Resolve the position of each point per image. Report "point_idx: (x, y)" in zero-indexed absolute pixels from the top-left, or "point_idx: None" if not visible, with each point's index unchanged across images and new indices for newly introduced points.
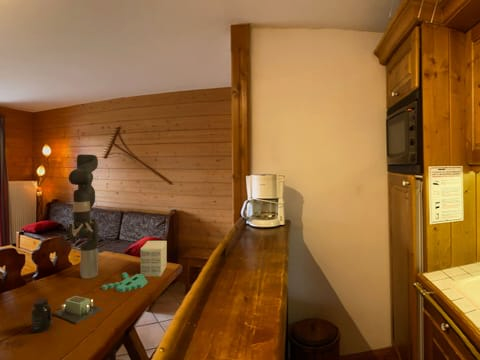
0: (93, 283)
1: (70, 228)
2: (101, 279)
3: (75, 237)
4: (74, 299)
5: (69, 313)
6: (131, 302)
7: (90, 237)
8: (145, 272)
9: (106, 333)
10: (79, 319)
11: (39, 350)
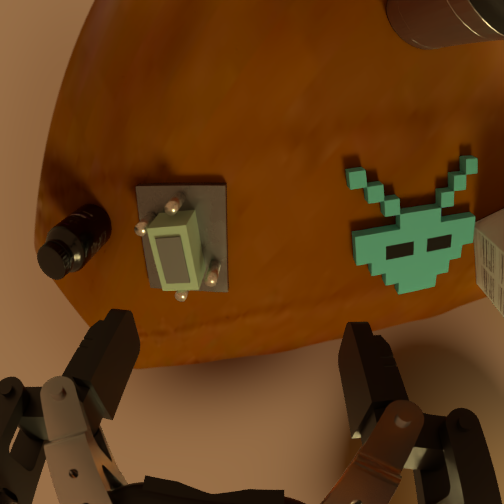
0: (373, 90)
1: (11, 497)
2: (414, 94)
3: (112, 405)
4: (165, 254)
5: None
6: (304, 324)
7: (342, 378)
8: (481, 248)
9: (174, 358)
10: (159, 287)
11: (73, 293)
